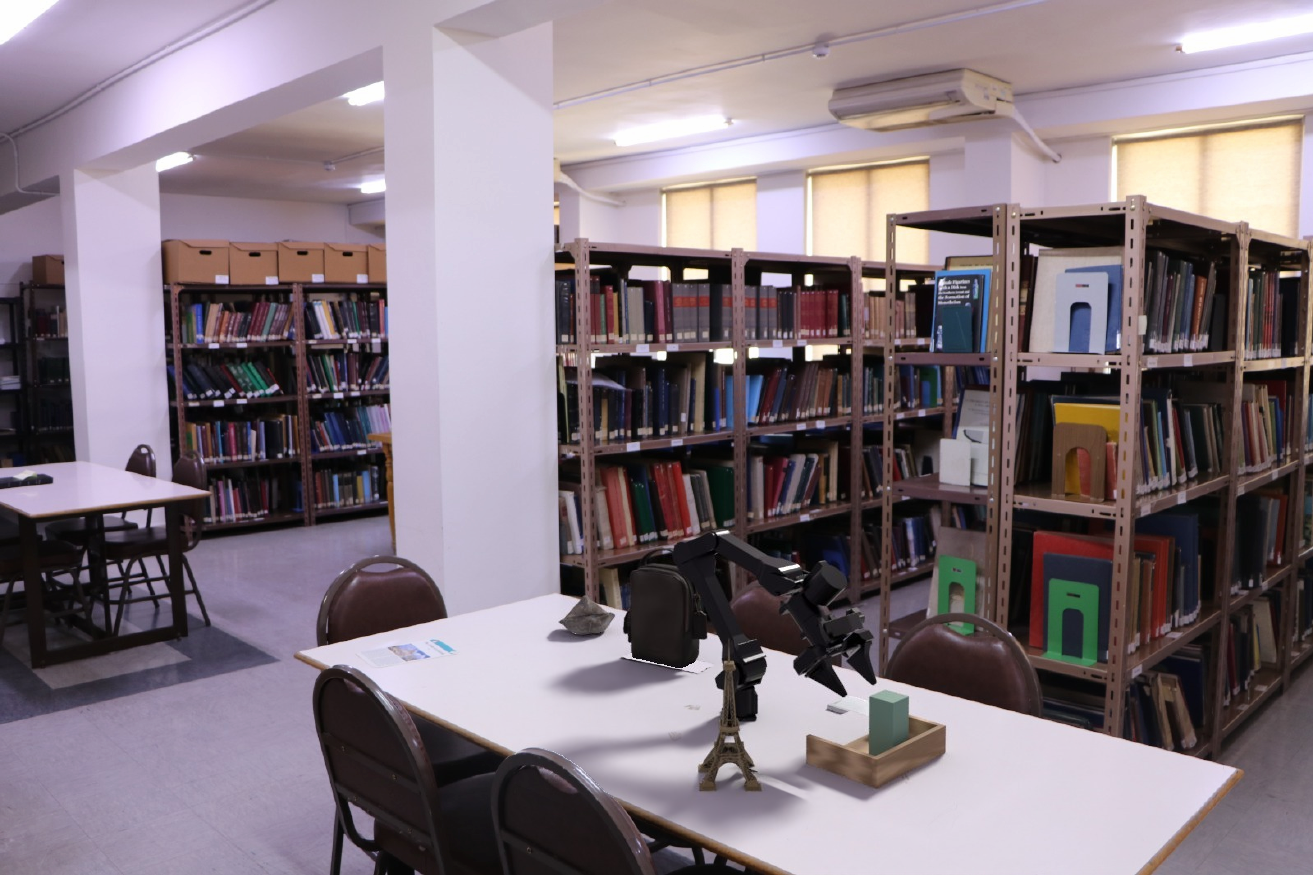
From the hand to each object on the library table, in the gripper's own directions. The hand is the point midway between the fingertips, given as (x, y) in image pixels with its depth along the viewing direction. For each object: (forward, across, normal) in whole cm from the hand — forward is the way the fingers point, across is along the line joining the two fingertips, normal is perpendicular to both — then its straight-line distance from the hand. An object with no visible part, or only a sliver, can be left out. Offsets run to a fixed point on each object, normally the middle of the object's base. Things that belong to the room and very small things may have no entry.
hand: (860, 690), depth 183 cm
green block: (+12, 0, +4) cm, 13 cm away
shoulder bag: (-38, +15, +56) cm, 70 cm away
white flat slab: (0, +20, +19) cm, 27 cm away
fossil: (-63, +18, +80) cm, 103 cm away
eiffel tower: (+2, -24, +17) cm, 29 cm away
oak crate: (+11, 0, +6) cm, 13 cm away
